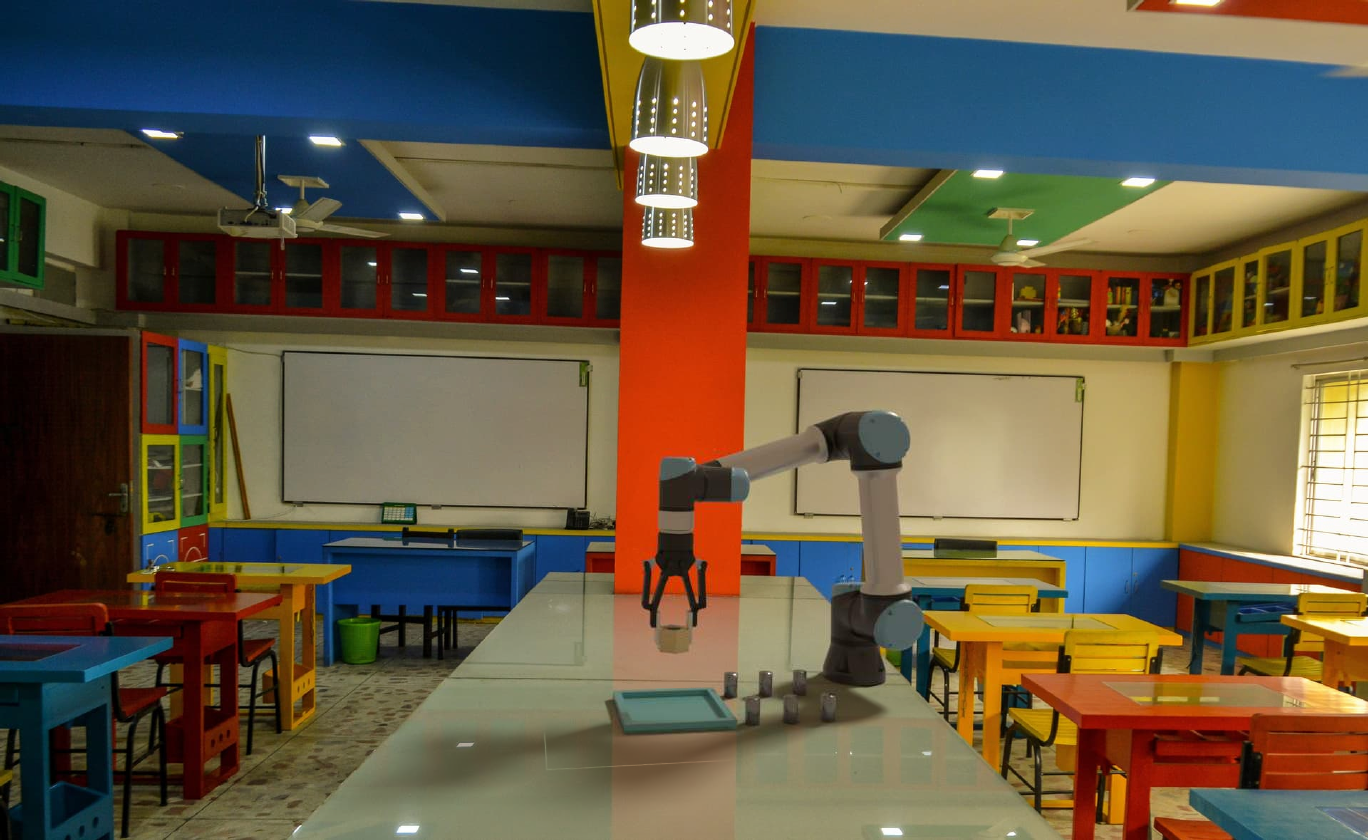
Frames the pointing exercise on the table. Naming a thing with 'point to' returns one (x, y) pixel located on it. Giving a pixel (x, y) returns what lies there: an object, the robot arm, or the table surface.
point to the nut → (674, 639)
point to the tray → (672, 710)
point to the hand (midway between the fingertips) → (673, 642)
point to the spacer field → (788, 700)
